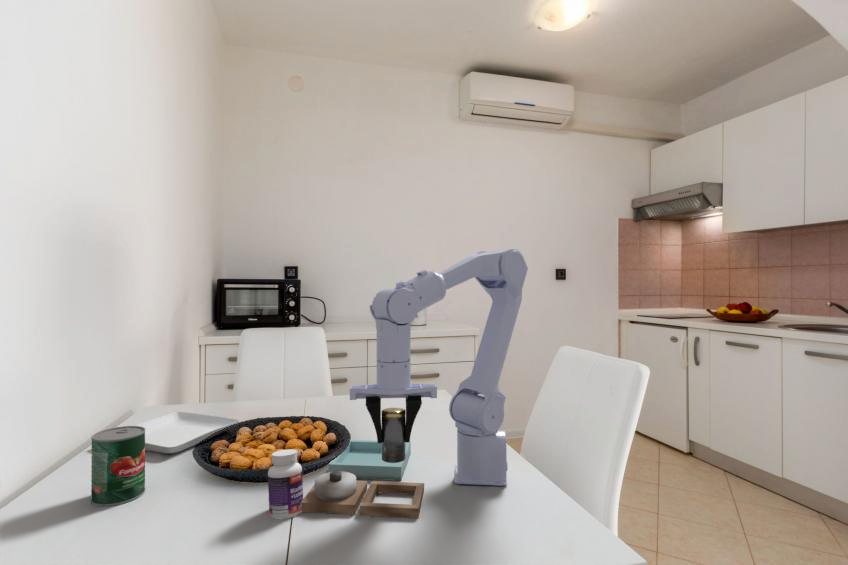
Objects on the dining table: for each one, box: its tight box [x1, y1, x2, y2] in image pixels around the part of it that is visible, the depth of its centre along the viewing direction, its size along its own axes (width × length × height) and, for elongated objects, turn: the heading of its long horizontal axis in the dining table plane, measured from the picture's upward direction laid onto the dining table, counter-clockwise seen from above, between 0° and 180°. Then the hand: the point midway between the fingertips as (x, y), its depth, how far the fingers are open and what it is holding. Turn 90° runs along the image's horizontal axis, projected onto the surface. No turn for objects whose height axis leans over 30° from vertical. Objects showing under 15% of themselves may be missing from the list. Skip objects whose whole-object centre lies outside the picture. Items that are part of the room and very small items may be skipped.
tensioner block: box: [302, 471, 425, 519], centre depth 79 cm, size 19×9×4 cm, turn 85°
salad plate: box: [133, 411, 240, 455], centre depth 111 cm, size 21×21×3 cm
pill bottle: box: [267, 448, 304, 520], centre depth 76 cm, size 5×5×10 cm
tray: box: [328, 439, 412, 481], centre depth 95 cm, size 14×14×2 cm
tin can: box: [381, 407, 406, 463], centre depth 79 cm, size 4×4×8 cm
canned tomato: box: [90, 425, 146, 508], centre depth 81 cm, size 8×8×11 cm
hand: (393, 440), depth 79 cm, fingers closed on tin can, 4 cm apart
